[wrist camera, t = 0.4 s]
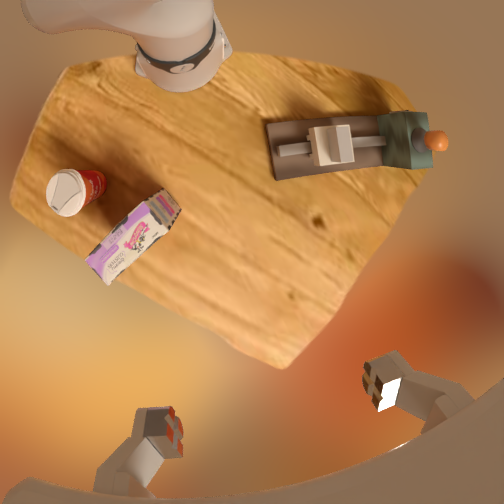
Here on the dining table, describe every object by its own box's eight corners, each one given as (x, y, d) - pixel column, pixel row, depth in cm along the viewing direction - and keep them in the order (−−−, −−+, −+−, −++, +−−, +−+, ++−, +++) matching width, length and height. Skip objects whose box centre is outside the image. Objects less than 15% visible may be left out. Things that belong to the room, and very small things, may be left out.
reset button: (423, 130, 39) (433, 130, 36) (436, 130, 39) (447, 130, 37) (425, 150, 40) (436, 151, 38) (438, 149, 41) (449, 150, 38)
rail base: (264, 122, 50) (279, 113, 39) (394, 114, 52) (427, 109, 41) (275, 180, 54) (291, 186, 43) (400, 163, 56) (434, 167, 45)
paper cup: (98, 210, 50) (67, 227, 37) (72, 188, 48) (37, 199, 35) (119, 179, 49) (91, 187, 36) (92, 157, 47) (58, 159, 34)
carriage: (305, 129, 49) (322, 125, 41) (338, 126, 50) (359, 122, 42) (310, 165, 52) (328, 167, 43) (343, 160, 52) (365, 162, 44)
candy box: (163, 186, 51) (143, 198, 36) (182, 209, 53) (171, 231, 38) (114, 231, 52) (82, 259, 37) (132, 252, 54) (107, 288, 39)
